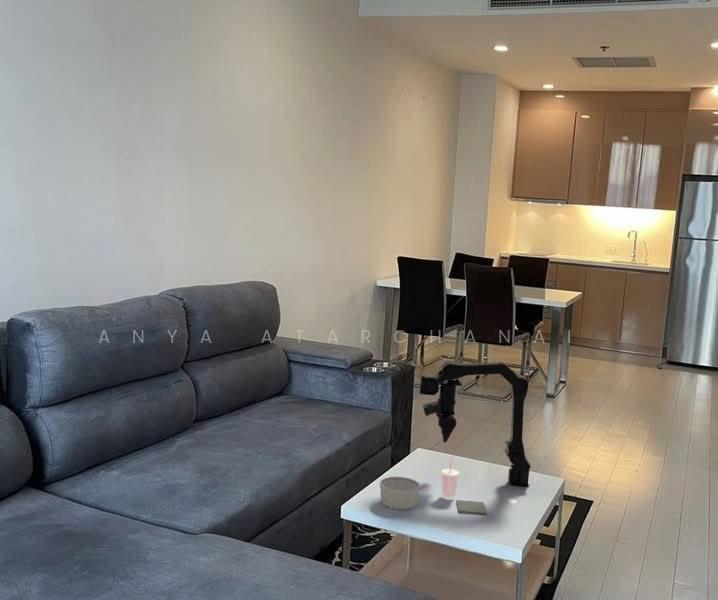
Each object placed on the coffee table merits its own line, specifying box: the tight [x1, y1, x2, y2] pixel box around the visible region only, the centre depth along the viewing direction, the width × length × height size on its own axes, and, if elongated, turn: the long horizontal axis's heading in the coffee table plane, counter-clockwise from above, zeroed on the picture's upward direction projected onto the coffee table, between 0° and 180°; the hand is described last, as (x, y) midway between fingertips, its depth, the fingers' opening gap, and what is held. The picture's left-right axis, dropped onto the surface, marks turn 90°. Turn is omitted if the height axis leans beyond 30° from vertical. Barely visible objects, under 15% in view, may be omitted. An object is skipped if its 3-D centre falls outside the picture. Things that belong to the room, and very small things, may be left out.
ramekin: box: [379, 476, 421, 510], centre depth 241 cm, size 13×13×7 cm
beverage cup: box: [440, 456, 460, 501], centre depth 249 cm, size 6×6×14 cm
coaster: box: [455, 499, 488, 516], centre depth 242 cm, size 9×9×1 cm
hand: (443, 438), depth 267 cm, fingers open, 9 cm apart
